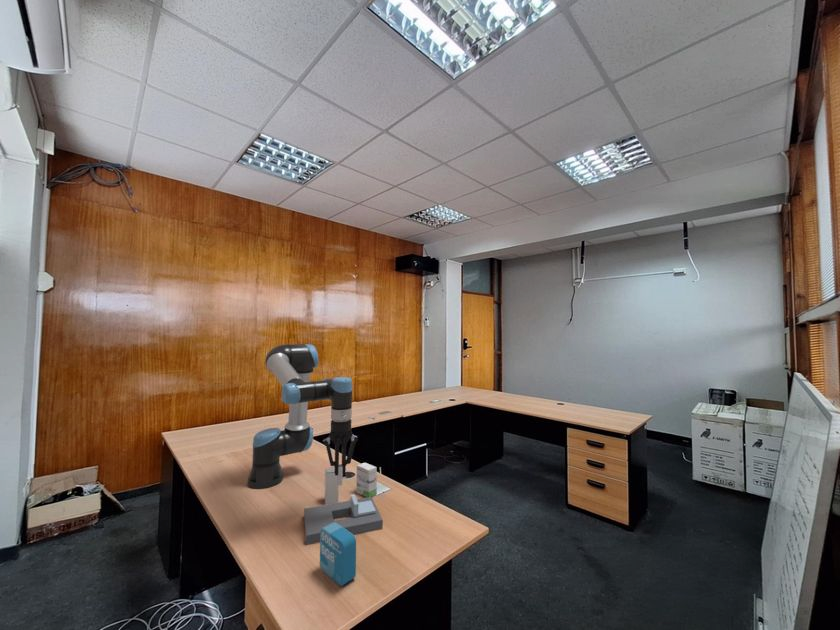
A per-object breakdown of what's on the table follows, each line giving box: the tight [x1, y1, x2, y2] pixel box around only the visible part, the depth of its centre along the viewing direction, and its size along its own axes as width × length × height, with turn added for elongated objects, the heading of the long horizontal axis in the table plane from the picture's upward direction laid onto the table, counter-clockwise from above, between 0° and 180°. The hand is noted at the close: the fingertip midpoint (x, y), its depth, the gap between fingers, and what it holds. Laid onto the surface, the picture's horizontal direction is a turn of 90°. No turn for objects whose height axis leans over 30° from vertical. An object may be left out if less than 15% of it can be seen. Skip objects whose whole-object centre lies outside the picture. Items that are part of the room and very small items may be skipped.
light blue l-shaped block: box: [350, 493, 376, 517], centre depth 125 cm, size 8×8×4 cm
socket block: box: [303, 496, 384, 546], centre depth 123 cm, size 18×26×3 cm
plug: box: [324, 466, 339, 505], centre depth 139 cm, size 5×5×13 cm
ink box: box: [356, 462, 378, 498], centre depth 145 cm, size 9×5×12 cm, turn 49°
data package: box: [319, 522, 357, 587], centre depth 97 cm, size 12×4×12 cm, turn 48°
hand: (339, 483), depth 123 cm, fingers closed
